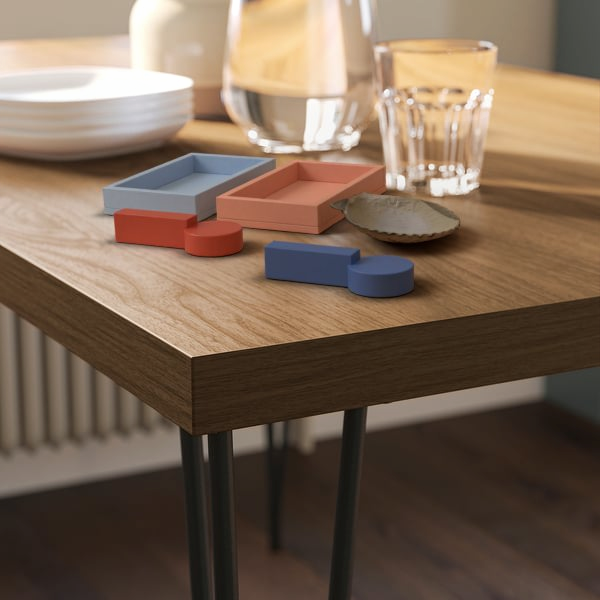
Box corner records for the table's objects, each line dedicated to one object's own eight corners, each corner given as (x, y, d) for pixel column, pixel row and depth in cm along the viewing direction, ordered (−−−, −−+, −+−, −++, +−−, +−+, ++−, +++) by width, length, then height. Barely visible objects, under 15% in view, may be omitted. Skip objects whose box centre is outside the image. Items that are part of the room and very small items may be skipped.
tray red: (294, 184, 94) (294, 159, 93) (386, 191, 90) (386, 165, 90) (217, 224, 82) (215, 197, 81) (318, 234, 79) (317, 205, 78)
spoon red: (105, 246, 78) (103, 217, 77) (135, 232, 81) (133, 203, 80) (226, 259, 74) (225, 228, 73) (253, 243, 77) (252, 214, 77)
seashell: (407, 287, 73) (484, 232, 78) (406, 246, 72) (485, 192, 76) (311, 243, 78) (388, 194, 83) (308, 204, 76) (387, 156, 81)
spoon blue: (255, 284, 69) (254, 251, 68) (283, 266, 72) (282, 234, 72) (401, 300, 65) (401, 266, 65) (422, 281, 69) (423, 248, 68)
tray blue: (192, 176, 97) (191, 152, 97) (276, 182, 94) (275, 158, 94) (104, 214, 86) (102, 187, 85) (196, 223, 83) (195, 195, 82)
